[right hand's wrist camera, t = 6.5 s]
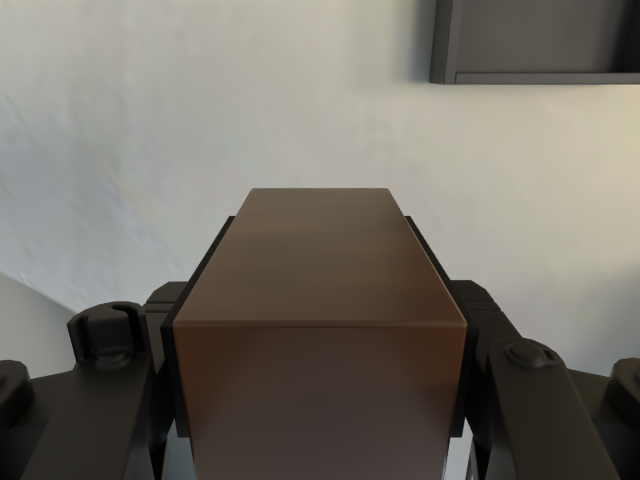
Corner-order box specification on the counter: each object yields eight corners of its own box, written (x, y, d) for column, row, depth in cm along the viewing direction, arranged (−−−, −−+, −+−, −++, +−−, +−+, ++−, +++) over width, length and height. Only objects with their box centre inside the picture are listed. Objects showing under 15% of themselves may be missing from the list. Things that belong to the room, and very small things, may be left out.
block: (388, 187, 14) (470, 322, 6) (381, 307, 15) (439, 526, 8) (251, 187, 14) (169, 323, 6) (258, 307, 15) (201, 526, 8)
